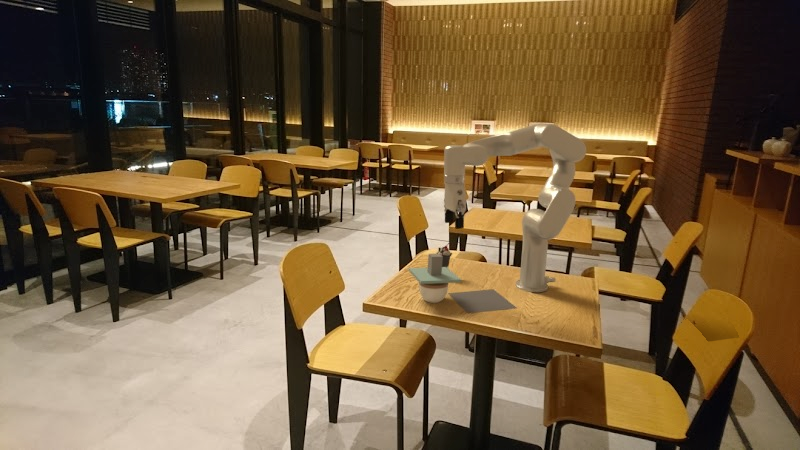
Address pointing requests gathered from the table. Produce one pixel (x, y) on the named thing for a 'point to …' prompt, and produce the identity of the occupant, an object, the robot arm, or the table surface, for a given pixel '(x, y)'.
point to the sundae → (445, 255)
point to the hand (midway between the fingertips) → (454, 225)
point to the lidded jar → (433, 291)
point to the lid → (434, 272)
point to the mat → (481, 301)
